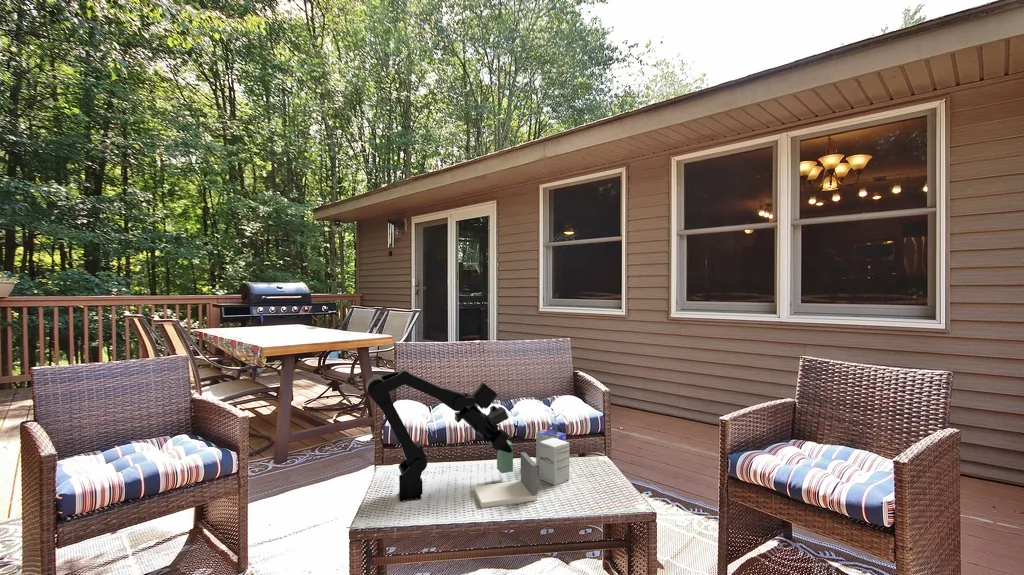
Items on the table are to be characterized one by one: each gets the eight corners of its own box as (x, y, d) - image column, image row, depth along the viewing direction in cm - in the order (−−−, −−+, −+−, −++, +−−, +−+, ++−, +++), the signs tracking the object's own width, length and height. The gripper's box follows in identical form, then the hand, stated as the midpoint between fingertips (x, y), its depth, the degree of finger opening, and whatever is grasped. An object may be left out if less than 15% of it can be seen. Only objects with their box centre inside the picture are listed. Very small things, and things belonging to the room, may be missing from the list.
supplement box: (538, 479, 156) (538, 441, 156) (554, 473, 161) (554, 436, 161) (554, 486, 150) (554, 446, 150) (570, 480, 155) (570, 441, 155)
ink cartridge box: (567, 467, 166) (567, 426, 166) (559, 472, 162) (558, 430, 162) (544, 461, 172) (543, 422, 172) (535, 466, 168) (535, 425, 168)
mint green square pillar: (501, 473, 152) (501, 445, 152) (496, 468, 156) (496, 441, 157) (513, 471, 154) (512, 444, 154) (508, 466, 158) (508, 440, 158)
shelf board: (481, 507, 136) (481, 471, 136) (473, 491, 147) (473, 457, 147) (537, 500, 140) (536, 465, 140) (525, 484, 152) (525, 452, 152)
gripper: (503, 406, 145) (535, 438, 149) (484, 394, 163) (514, 423, 166) (478, 435, 142) (512, 466, 146) (462, 419, 160) (493, 448, 164)
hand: (508, 449), depth 156 cm, fingers closed on mint green square pillar, 4 cm apart
